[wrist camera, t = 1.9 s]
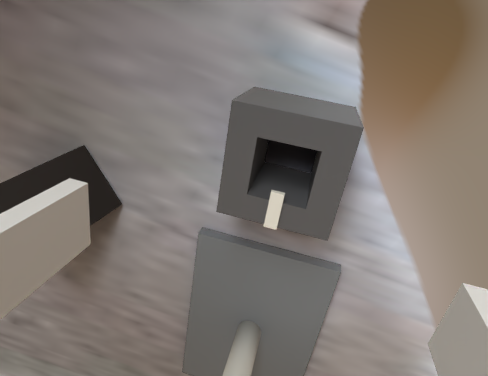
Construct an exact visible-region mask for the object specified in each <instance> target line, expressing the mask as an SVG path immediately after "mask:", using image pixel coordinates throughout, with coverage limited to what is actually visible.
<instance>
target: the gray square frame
mask: <svg viewBox="0 0 488 376" xmlns="http://www.w3.org/2000/svg"><path fill="white" fill-rule="evenodd" d="M363 128H364V127H363V125H362V122H361V120H360V117H359V115H358V112H357V110H356V107H352V106H347V105H342V104H337V103H332V102H327V101H322V100H317V99H312V98H307V97H302V96H298V95H293V94H288V93H283V92H278V91H273V90H268V89H263V88H258V87H253V88H252V89H250V90H248V91H247V92H245V93H243V94H242V95H240V96H238V97H237V98H235V99H233V100H232V105H231V112H230V119H229V127H228V134H227V141H226V148H225V155H224V162H223V169H222V176H221V184H220V191H219V198H218V205H217V212H219V213H223V214H227V215H231V216H235V217H239V218H242V219H246V220H250V221H254V222H258V223H262V224H264V226H263V227H267V228H271V229H275V230H276V229H277V228H281V229H285V230H288V231H292V232H296V233H300V234H304V235H308V236H311V237H315V238H319V239H323V240H328V237H329V234H330V231H331V228H332V225H333V222H334V219H335V216H336V212H337V209H338V206H339V203H340V200H341V197H342V194H343V191H344V187H345V184H346V181H347V178H348V175H349V172H350V169H351V166H352V163H353V159H354V156H355V153H356V150H357V147H358V144H359V141H360V138H361V135H362V131H363ZM269 140H272V141H277V142H281V143H286V144H290V145H295V146H299V147H304V148H308V149H313V150H317V153H316V157H315V161H314V164H313V168H312V172H311V173H308V172H304V171H300V170H295V169H291V168H287V167H282V166H278V165H274V164H270V163H265V162H264V161H265V156H266V151H267V146H268V141H269Z"/></svg>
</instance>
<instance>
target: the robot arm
mask: <svg viewBox="0 0 488 376" xmlns="http://www.w3.org/2000/svg"><path fill="white" fill-rule="evenodd" d="M90 244H91V239H90V217H89V196H88V183H86V182H82V181H78V180H74V179H71V178H69V179H67V180H65V181H63V182H61V183H59V184H57V185H55V186H53V187H52V188H50V189H48V190H46V191H44V192H42V193H40V194H38V195H36V196H34V197H32V198H30V199H28V200H26V201H24V202H22V203H20V204H18V205H17V206H15V207H13V208H11V209H9V210H7V211H5V212H3V213H1V214H0V320H1V319H2V318H3V317H4V316H5V315H7V314H8V313H9V312H10V311H11V310H13V309H14V308H15V307H16V306H17V305H19V304H20V303H21V302H22V301H23V300H25V299H26V298H27V297H28V296H29V295H31V294H32V293H33V292H34V291H35V290H37V289H38V288H39V287H40V286H41V285H43V284H44V283H45V282H46V281H47V280H49V279H50V278H51V277H52V276H53V275H54V274H56V273H57V272H58V271H59V270H60V269H62V268H63V267H64V266H65V265H66V264H68V263H69V262H70V261H71V260H72V259H74V258H75V257H76V256H77V255H78V254H80V253H81V252H82V251H83V250H84V249H86V248H87V247H88V246H89V245H90ZM428 346H429V349H430V352H431V355H432V358H433V361H434V364H435V367H436V370H437V373H438V376H488V290H487V289H483V288H480V287H476V286H472V285H469V284H465V283H462V285H461V287H460V289H459V290H458V292H457V294H456V296H455V297H454V299H453V301H452V303H451V304H450V306H449V308H448V310H447V311H446V313H445V315H444V317H443V318H442V320H441V322H440V324H439V326H438V327H437V329H436V331H435V332H434V334H433V336H432V338H431V339H430V341H429V343H428Z"/></svg>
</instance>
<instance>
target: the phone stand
mask: <svg viewBox="0 0 488 376" xmlns="http://www.w3.org/2000/svg"><path fill="white" fill-rule="evenodd" d="M69 178H71V179H74V180H78V181H82V182H86V183H88V196H89V217H90V225H92V224H93V223H95V222H96V221H98V220H99V219H101V218H102V217H104V216H105V215H107V214H108V213H110V212H111V211H113V210H114V209H116V208H117V207H119V206H120V205H121V202H120V201H119V199H118V198H117V196H116V194H115V193H114V191H113V190H112V188H111V187H110V185H109V184H108V182H107V180H106V179H105V177H104V176H103V174H102V173H101V171H100V170H99V168H98V166H97V165H96V163H95V162H94V160H93V159H92V157H91V156H90V154H89V153H88V151H87V149H86V148H85V146H84V145H83V146H81V147H79V148H77V149H74V150H72V151H70V152H68V153H66V154H63V155H61V156H59V157H57V158H55V159H53V160H50V161H48V162H46V163H44V164H42V165H40V166H37V167H35V168H33V169H31V170H29V171H26V172H24V173H22V174H20V175H18V176H16V177H13V178H11V179H9V180H7V181H5V182H2V183H0V214H1V213H3V212H5V211H7V210H9V209H11V208H13V207H15V206H17V205H18V204H20V203H22V202H24V201H26V200H28V199H30V198H32V197H34V196H36V195H38V194H40V193H42V192H44V191H46V190H48V189H50V188H52V187H53V186H55V185H57V184H59V183H61V182H63V181H65V180H67V179H69Z"/></svg>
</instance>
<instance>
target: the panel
mask: <svg viewBox="0 0 488 376" xmlns="http://www.w3.org/2000/svg"><path fill="white" fill-rule="evenodd" d="M340 273H341V265H339V264H336V263H332V262H328V261H324V260H321V259H317V258H313V257H310V256H306V255H302V254H299V253H295V252H291V251H287V250H284V249H280V248H276V247H273V246H269V245H265V244H261V243H258V242H254V241H250V240H247V239H243V238H239V237H236V236H232V235H228V234H224V233H221V232H217V231H213V230H210V229H206V228H202V229H201V231H200V232H199V233H198V242H197V250H196V259H195V267H194V276H193V284H192V293H191V302H190V310H189V319H188V327H187V336H186V344H185V353H184V361H183V370H182V372H183V373H186V374H189V375H192V376H304V373H305V370H306V368H307V365H308V362H309V359H310V357H311V354H312V351H313V348H314V345H315V343H316V340H317V337H318V334H319V332H320V329H321V326H322V323H323V320H324V318H325V315H326V312H327V309H328V307H329V304H330V301H331V298H332V296H333V293H334V290H335V287H336V284H337V282H338V279H339V276H340Z"/></svg>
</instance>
